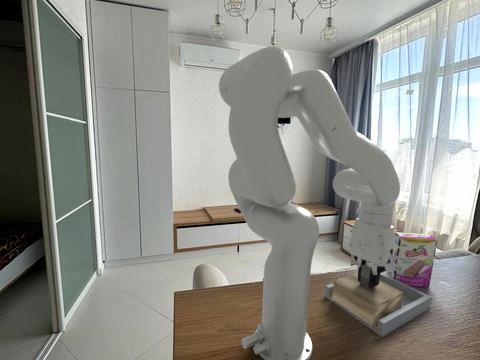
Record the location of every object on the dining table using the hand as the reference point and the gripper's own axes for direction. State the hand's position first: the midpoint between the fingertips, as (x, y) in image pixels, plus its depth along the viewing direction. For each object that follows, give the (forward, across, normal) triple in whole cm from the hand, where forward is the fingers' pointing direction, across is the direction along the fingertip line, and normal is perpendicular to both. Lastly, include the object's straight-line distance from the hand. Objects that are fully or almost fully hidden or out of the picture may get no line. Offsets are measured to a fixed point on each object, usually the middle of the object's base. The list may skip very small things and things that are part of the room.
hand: (367, 282), depth 67 cm
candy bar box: (+8, -2, +24) cm, 25 cm away
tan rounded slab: (+7, 0, 0) cm, 7 cm away
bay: (+7, 0, +5) cm, 9 cm away
